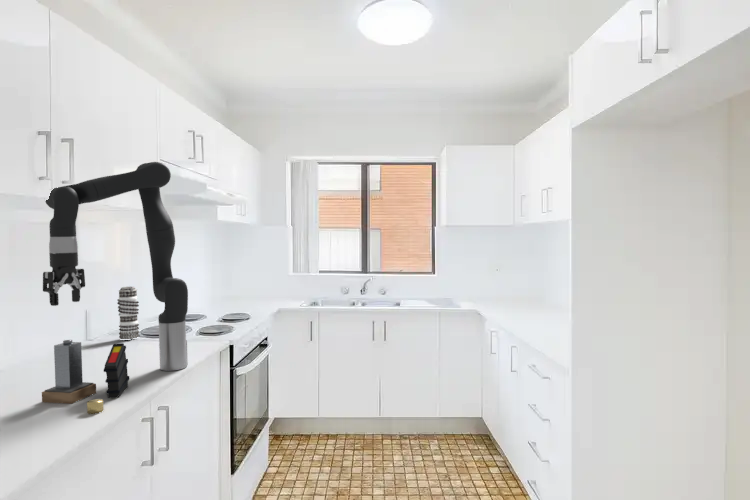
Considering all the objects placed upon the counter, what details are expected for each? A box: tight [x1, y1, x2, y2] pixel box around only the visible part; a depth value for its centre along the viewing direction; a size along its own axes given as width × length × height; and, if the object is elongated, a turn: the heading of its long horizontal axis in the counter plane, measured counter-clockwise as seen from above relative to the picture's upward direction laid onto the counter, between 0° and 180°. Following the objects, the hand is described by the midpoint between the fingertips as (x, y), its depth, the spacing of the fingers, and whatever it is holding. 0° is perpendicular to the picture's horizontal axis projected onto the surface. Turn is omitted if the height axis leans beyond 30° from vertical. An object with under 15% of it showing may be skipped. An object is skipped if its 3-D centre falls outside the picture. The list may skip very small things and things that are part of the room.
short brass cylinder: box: [86, 398, 105, 415], centre depth 142 cm, size 4×4×3 cm
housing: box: [53, 339, 83, 389], centre depth 154 cm, size 5×5×14 cm
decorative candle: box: [116, 286, 140, 340], centre depth 242 cm, size 9×9×25 cm
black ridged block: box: [103, 343, 130, 399], centre depth 158 cm, size 4×13×15 cm, turn 12°
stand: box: [41, 381, 97, 405], centre depth 154 cm, size 10×10×3 cm
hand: (65, 303), depth 158 cm, fingers open, 8 cm apart
